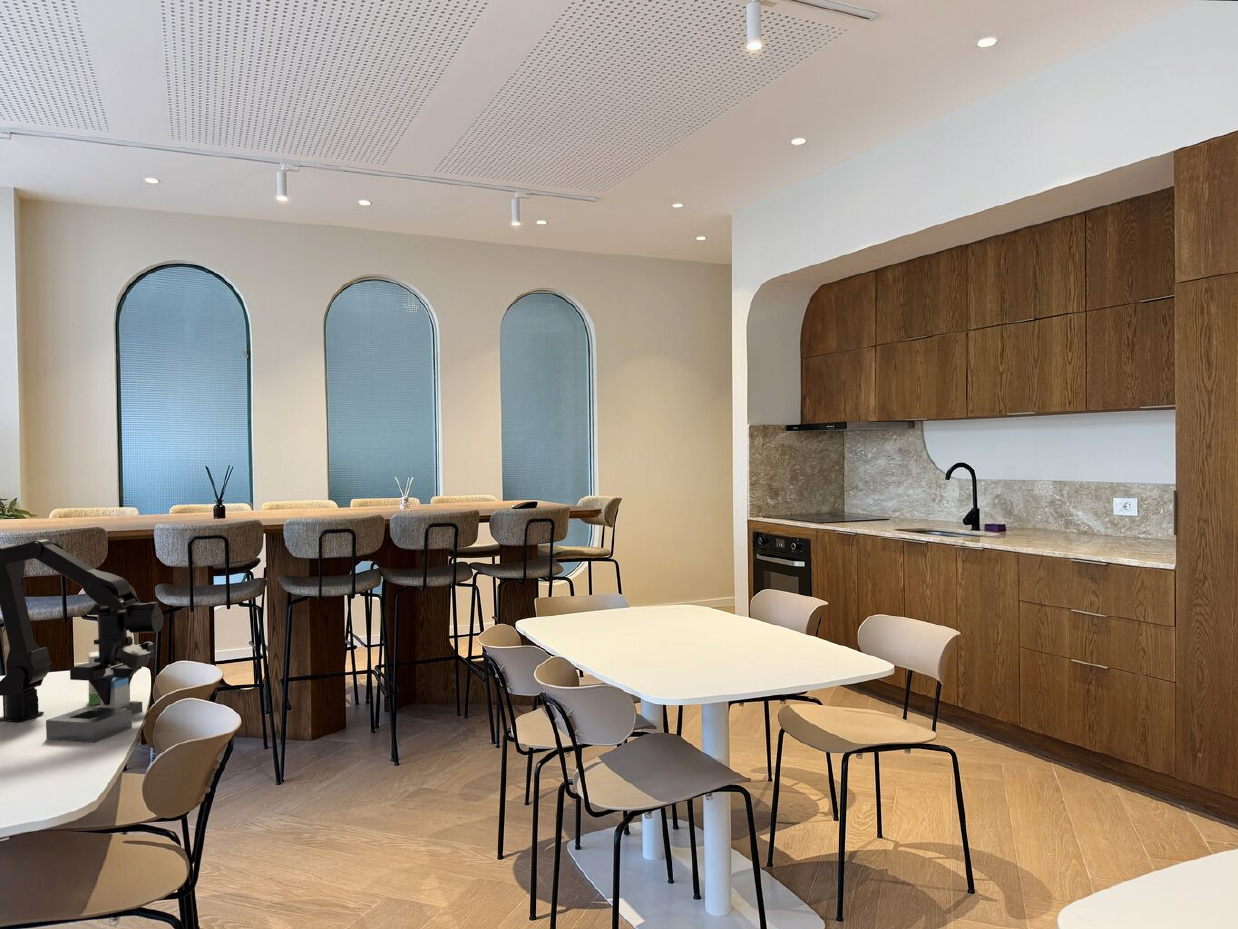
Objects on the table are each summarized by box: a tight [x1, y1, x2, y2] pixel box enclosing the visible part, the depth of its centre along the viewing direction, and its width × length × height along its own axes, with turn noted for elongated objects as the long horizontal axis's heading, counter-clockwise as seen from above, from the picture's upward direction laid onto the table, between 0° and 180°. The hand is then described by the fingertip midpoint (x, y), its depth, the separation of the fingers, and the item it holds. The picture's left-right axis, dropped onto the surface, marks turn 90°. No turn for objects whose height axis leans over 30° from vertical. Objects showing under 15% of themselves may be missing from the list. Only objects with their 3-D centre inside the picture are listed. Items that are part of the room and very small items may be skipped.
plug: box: [99, 677, 130, 709], centre depth 203 cm, size 4×4×8 cm
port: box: [45, 706, 133, 744], centre depth 189 cm, size 12×10×4 cm
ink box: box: [87, 650, 131, 706], centre depth 215 cm, size 9×5×12 cm, turn 123°
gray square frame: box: [95, 700, 143, 715], centre depth 203 cm, size 8×8×2 cm
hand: (114, 702), depth 203 cm, fingers closed on plug, 4 cm apart
